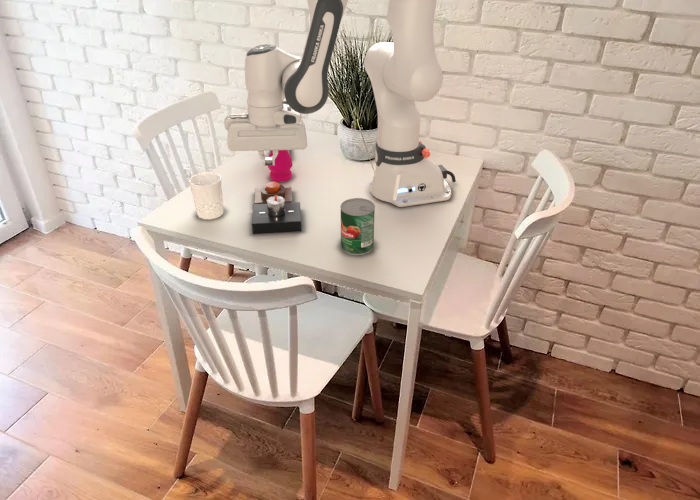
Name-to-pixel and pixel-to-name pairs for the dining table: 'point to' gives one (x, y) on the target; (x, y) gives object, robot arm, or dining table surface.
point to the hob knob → (276, 206)
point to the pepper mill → (281, 166)
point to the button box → (272, 194)
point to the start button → (272, 187)
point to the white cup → (207, 194)
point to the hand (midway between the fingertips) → (269, 164)
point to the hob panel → (276, 219)
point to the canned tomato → (357, 226)
